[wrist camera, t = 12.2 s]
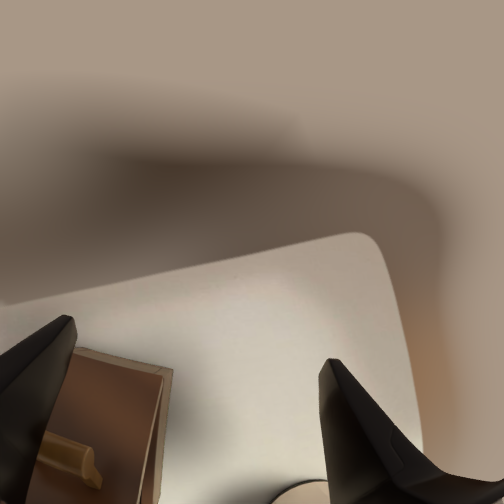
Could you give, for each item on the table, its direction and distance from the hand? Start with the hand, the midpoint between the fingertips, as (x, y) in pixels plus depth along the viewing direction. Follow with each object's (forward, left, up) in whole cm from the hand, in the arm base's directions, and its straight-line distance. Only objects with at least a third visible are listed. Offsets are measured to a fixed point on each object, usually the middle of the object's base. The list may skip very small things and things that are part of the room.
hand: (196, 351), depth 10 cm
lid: (-6, +7, -4) cm, 10 cm away
